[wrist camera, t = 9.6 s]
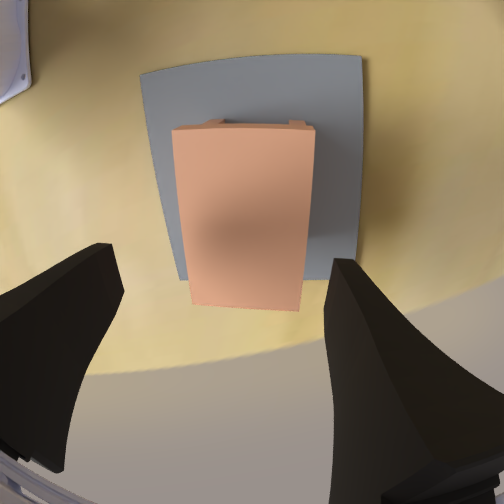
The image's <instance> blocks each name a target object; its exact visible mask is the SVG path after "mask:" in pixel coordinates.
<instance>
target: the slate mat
mask: <svg viewBox="0 0 504 504" xmlns="http://www.w3.org/2000/svg"><path fill="white" fill-rule="evenodd" d="M140 82H141V89H142V97H143V104H144V111H145V117H146V124H147V130H148V136H149V142H150V147H151V153H152V158H153V164H154V169H155V174H156V179H157V184H158V189H159V194H160V199H161V204H162V208H163V213H164V217H165V222H166V226H167V230H168V235H169V239H170V243H171V247H172V251H173V255H174V259H175V263H176V267H177V271H178V275H179V279H180V280H189V279H188V273H187V266H186V259H185V252H184V245H183V237H182V230H181V222H180V214H179V205H178V196H177V187H176V177H175V167H174V156H173V144H172V130H173V129H175V128H178V127H180V126H182V125H197V124H203V123H205V122H206V121H208V120H210V119H225V124H235V123H251V124H289V120H303V121H305V123H306V125H307V126H313V128H314V129H315V147H314V164H313V178H312V192H311V204H310V216H309V227H308V238H307V248H306V257H305V266H304V275H303V280H330V275H331V270H332V264H333V259H334V258H345V259H354V260H355V257H356V248H357V239H358V228H359V217H360V203H361V188H362V167H363V77H362V58H361V56H354V55H336V54H281V55H262V56H250V57H239V58H230V59H222V60H214V61H207V62H201V63H195V64H189V65H183V66H178V67H173V68H168V69H163V70H159V71H154V72H150V73H146V74H142V75H140Z"/></svg>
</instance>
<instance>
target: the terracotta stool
mask: <svg viewBox="0 0 504 504" xmlns="http://www.w3.org/2000/svg"><path fill="white" fill-rule="evenodd" d="M172 144H173V156H174V167H175V177H176V187H177V196H178V205H179V214H180V222H181V230H182V237H183V245H184V252H185V259H186V266H187V273H188V279H189V286H190V292H191V298H192V304H195V305H206V306H218V307H231V308H245V309H261V310H278V311H299V308H300V301H301V292H302V284H303V275H304V266H305V257H306V248H307V238H308V227H309V216H310V204H311V192H312V178H313V164H314V147H315V129H314V128H313V126H307V125H306V123H305V121H303V120H289V124H251V123H235V124H225V119H210V120H208V121H206V122H205V123H203V124H197V125H182V126H180V127H178V128H175V129H173V130H172Z"/></svg>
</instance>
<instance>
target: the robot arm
mask: <svg viewBox="0 0 504 504" xmlns="http://www.w3.org/2000/svg"><path fill="white" fill-rule="evenodd" d="M25 75H26V77H25ZM30 86H31V71H30V59H29V44H28V0H0V104H2V103H3V102H5V101H7V100H8V99H10V98H12V97H14V96H15V95H17V94H19V93H21V92H23V91H24V90H26V89H28V88H29V87H30ZM123 294H124V288H123V284H122V281H121V277H120V274H119V270H118V266H117V263H116V259H115V255H114V251H113V247H112V244H108V243H96V244H93V245H91V246H89V247H87V248H85V249H83V250H81V251H79V252H77V253H75V254H73V255H72V256H70V257H68V258H66V259H65V260H63V261H61V262H60V263H58V264H56V265H54V266H53V267H51V268H49V269H48V270H46V271H44V272H42V273H41V274H39V275H37V276H35V277H34V278H32V279H30V280H28V281H27V282H25V283H23V284H21V285H20V286H18V287H16V288H14V289H12V290H10V291H8V292H6V293H4V294H2V295H0V504H42V503H40V502H38V501H36V500H34V499H32V498H30V497H28V496H27V495H25V494H23V493H22V492H21V488H20V486H22V487H23V488H25V489H26V490H28V491H29V492H31V493H33V494H34V495H36V496H38V497H39V498H41V499H42V500H44V501H46V502H48V503H49V504H96V503H94V502H92V501H89V500H87V499H85V498H82V497H80V496H78V495H76V494H74V493H72V492H70V491H68V490H66V489H64V488H62V487H60V486H58V485H56V484H54V483H52V482H50V481H48V480H47V479H45V478H43V477H41V476H39V475H38V474H36V473H34V472H33V471H31V470H29V469H28V468H26V467H25V466H23V465H21V464H20V463H18V462H17V460H18V458H19V457H20V458H21V459H23V460H24V461H26V462H29V461H30V460H32V461H34V462H35V463H37V464H39V465H41V466H42V467H44V468H46V469H48V470H50V471H52V472H54V473H60V472H62V471H64V462H65V452H66V442H67V437H68V431H69V427H70V422H71V417H72V413H73V409H74V406H75V402H76V399H77V395H78V392H79V389H80V386H81V383H82V381H83V378H84V375H85V373H86V370H87V368H88V366H89V364H90V362H91V360H92V358H93V356H94V354H95V352H96V350H97V348H98V346H99V345H100V343H101V341H102V339H103V337H104V335H105V334H106V332H107V330H108V328H109V326H110V324H111V322H112V321H113V319H114V317H115V315H116V312H117V310H118V307H119V305H120V302H121V300H122V297H123ZM324 336H325V343H326V350H327V357H328V363H329V371H330V378H331V386H332V393H333V403H334V445H333V446H334V447H333V466H332V478H331V490H330V498H329V504H504V492H503V493H502V494H499V495H497V496H495V494H494V488H496V487H498V486H499V484H500V479H499V473H500V472H502V471H503V470H504V394H502V393H501V392H499V391H497V390H495V389H494V388H492V387H491V386H489V385H488V384H486V383H485V382H483V381H481V380H480V379H478V378H477V377H475V376H474V375H473V374H471V373H469V372H468V371H467V370H465V369H464V368H463V367H461V366H460V365H459V364H457V363H456V362H455V361H453V360H452V359H451V358H450V357H448V356H447V355H446V354H445V353H443V352H442V351H441V350H440V349H439V348H437V347H436V346H435V345H434V344H433V343H432V342H431V341H430V340H428V339H427V338H426V337H425V336H424V335H423V334H421V332H420V331H419V330H417V329H416V328H415V327H414V326H413V325H412V324H411V323H410V322H409V321H408V320H407V319H406V318H405V317H404V315H403V314H402V313H401V312H400V311H399V310H398V309H397V308H396V307H395V306H394V305H393V304H392V303H391V302H390V301H389V300H388V298H387V297H386V296H385V295H384V294H383V293H382V292H381V291H380V289H379V288H378V287H377V286H376V285H375V284H374V282H373V281H372V280H371V279H370V278H369V277H368V275H367V274H366V273H365V272H364V271H363V270H362V268H361V267H360V266H359V265H358V264H357V263H356V262H355V260H354V259H345V258H334V259H333V264H332V270H331V275H330V280H329V285H328V290H327V295H326V300H325V305H324Z"/></svg>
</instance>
